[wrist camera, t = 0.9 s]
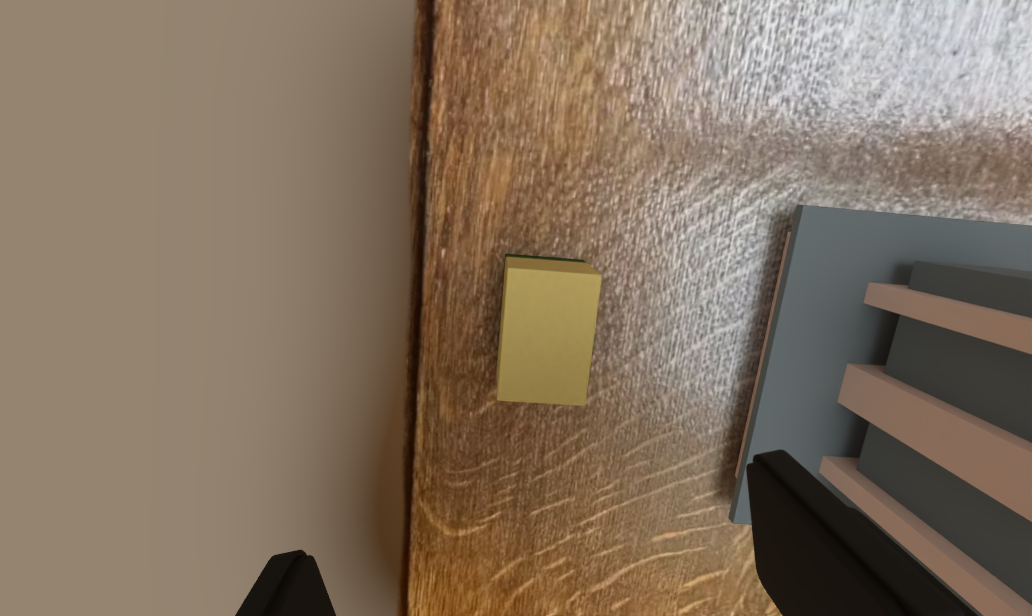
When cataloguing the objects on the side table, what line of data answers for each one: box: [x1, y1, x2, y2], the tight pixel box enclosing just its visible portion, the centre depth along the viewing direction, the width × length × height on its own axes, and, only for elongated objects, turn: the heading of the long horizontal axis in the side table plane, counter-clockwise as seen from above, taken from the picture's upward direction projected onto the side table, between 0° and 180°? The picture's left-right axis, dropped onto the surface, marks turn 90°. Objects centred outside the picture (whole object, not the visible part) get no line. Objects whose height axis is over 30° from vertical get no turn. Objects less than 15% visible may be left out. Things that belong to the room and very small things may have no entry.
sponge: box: [497, 254, 602, 406], centre depth 23 cm, size 6×4×4 cm, turn 175°
